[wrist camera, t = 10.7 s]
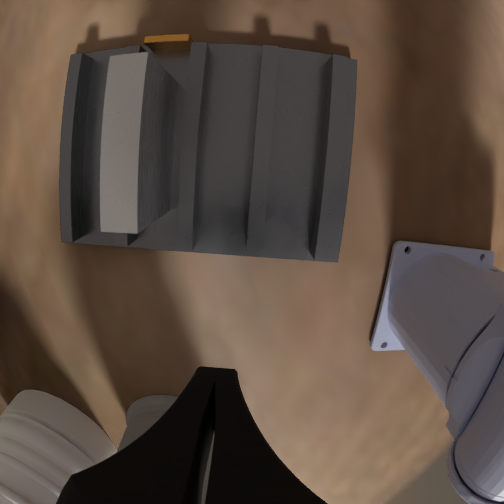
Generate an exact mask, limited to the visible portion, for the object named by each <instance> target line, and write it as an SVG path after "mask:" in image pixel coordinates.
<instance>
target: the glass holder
mask: <svg viewBox="0 0 504 504" xmlns="http://www.w3.org/2000/svg"><path fill="white" fill-rule="evenodd" d="M177 398H178V396H173V395H149V396H145V397H142V398H140V399H138V400H136V401H134V402H133V403H132V404H131V405H130V407H129V408H128V410H127V414H126V424H127V427H126V430H125V432H124V435H123V438H122V440H121V443H120V445H119V448H118V451H117V452H119V451H120V450H122V449H123V448H125V447H126V446H128V445H129V444H130V443H132V442H133V441H134V440H136V439H137V438H138V437H140V436H141V435H142V434H143V433H145V432H146V431H147V430H148V429H149V428H150V427H151V426H152V425H153V424H155V423H156V422H157V421H158V420H159V419H160V418H161V417H162V415H163V414H164V413H165V412H166V411H167V410H168V409H169V408H170V407H171V406H172V404H173V403H174V402H175V401H176V399H177ZM213 443H214V434H213V439H212V444H211V449H210V453H209V458H208V463H207V468H206V472H205V477H204V483H203V490H202V501H201V504H205V499H206V492H207V486H208V479H209V472H210V465H211V458H212V451H213Z"/></svg>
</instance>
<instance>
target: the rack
mask: <svg viewBox="0 0 504 504" xmlns="http://www.w3.org/2000/svg"><path fill="white" fill-rule="evenodd" d="M144 43H145V45H146V46H141V45H133V46H126V47H125V48H117V49H109V50H102V51H96V52H89V53H78V54H73V55H71V57H70V62H69V68H68V75H67V81H66V89H65V96H64V105H63V115H62V127H61V142H60V170H59V197H60V225H61V240H62V242H66V243H79V244H91V245H105V246H118V247H131V248H144V249H157V250H171V251H184V252H198V253H212V254H225V255H239V256H253V257H267V258H281V259H296V260H310V261H324V262H338V258H339V252H340V245H341V239H342V232H343V224H344V217H345V209H346V201H347V193H348V184H349V175H350V165H351V155H352V144H353V131H354V117H355V101H356V80H357V60H355V59H350V58H348V57H346V56H341V55H336V54H333V55H329V54H324V53H318V52H311V51H304V50H297V49H289V48H281V47H279V46H273V45H263V46H260V45H245V44H222V43H207V42H193V41H192V39H191V37H190V35H189V34H175V35H158V36H145V39H144ZM141 52H149V53H150V54H151V55H152V56H153V57H154V58H155V59H156V60H157V61H158V62H159V63H160V64H161V65H162V66H163V67H164V68H165V69H166V70H167V71H168V73H169V74H170V75H171V76H172V77H173V78H174V79H175V80H176V81H177V82H178V83H179V84H180V92H179V103H178V115H177V128H176V143H175V161H174V184H173V209H172V210H170V211H169V212H167V213H166V214H164V215H163V216H162V217H160V218H159V219H157V220H156V221H155V222H153V223H152V224H150V225H149V226H148V227H146V228H145V229H143V230H142V231H141V232H139V233H138V234H134V233H116V232H101V225H100V156H101V135H102V121H103V109H104V98H105V89H106V81H107V73H108V66H109V59H110V56H114V55H122V54H131V53H141Z"/></svg>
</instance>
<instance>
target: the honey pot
mask: <svg viewBox="0 0 504 504" xmlns="http://www.w3.org/2000/svg"><path fill="white" fill-rule="evenodd" d="M115 453H117V451H116V449H115V447H114V445H113V443H112V441H111V440H110V438H109V437H108V436H107V435H106V433H105V432H104V431H103V430H102V429H101V428H100V427H99V426H98V425H97V424H96V423H95V422H94V421H93V420H92V419H90V418H89V417H88V416H86V415H85V414H84V413H82V412H81V411H80V410H78V409H77V408H76V407H74V406H72V405H71V404H69V403H67V402H65V401H64V400H62V399H60V398H58V397H56V396H53V395H51V394H49V393H46V392H42V391H38V390H23V391H21V392H20V393H18V394H17V395H16V396H15V397H14V399H13V400H12V401H11V403H10V404H9V405H8V406H7V408H6V409H5V410H4V412H3V413H2V415H1V416H0V504H56V502H57V500H58V498H59V495H60V493H61V491H62V489H63V487H64V486H65V484H66V483H67V481H68V480H69V478H70V476H71V475H72V474H75V473H78V472H80V471H82V470H84V469H87V468H89V467H91V466H93V465H96V464H98V463H100V462H102V461H103V460H105V459H107V458H108V457H110V456H112V455H114V454H115Z"/></svg>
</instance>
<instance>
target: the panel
mask: <svg viewBox="0 0 504 504" xmlns="http://www.w3.org/2000/svg"><path fill="white" fill-rule="evenodd" d="M179 92H180V84H179V83H178V82H177V81H176V80H175V79H174V78H173V77H172V76H171V75H170V74H169V73H168V71H167V70H166V69H165V68H164V67H163V66H162V65H161V64H160V63H159V62H158V61H157V60H156V59H155V58H154V57H153V56H152V55H151V54H150V53H149V52H141V53H131V54H122V55H114V56H110V59H109V66H108V73H107V81H106V89H105V98H104V109H103V121H102V135H101V156H100V225H101V232H116V233H134V234H138V233H139V232H141V231H142V230H143V229H145V228H146V227H148V226H149V225H150V224H152V223H153V222H155V221H156V220H157V219H159V218H160V217H162V216H163V215H164V214H166V213H167V212H169V211H170V210H172V209H173V184H174V161H175V143H176V128H177V115H178V103H179Z"/></svg>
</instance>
